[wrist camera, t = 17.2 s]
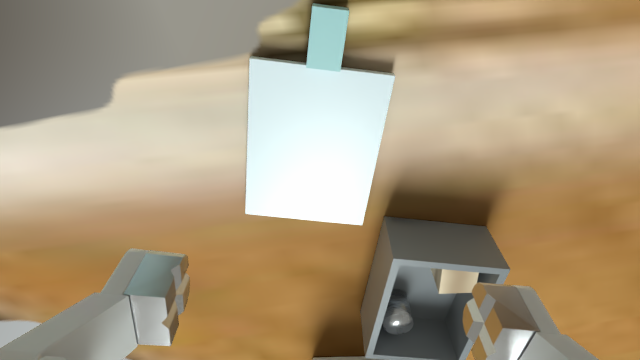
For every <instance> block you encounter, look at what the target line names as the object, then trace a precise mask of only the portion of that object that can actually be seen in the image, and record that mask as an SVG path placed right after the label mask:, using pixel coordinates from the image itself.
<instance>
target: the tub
mask: <svg viewBox="0 0 640 360" xmlns="http://www.w3.org/2000/svg"><path fill="white" fill-rule="evenodd" d="M431 268H435V269H445V270H456V271H467V272H478V273H479V275H478V279H477V283H478V282H480V283H492V284H503V283H504V281H505V279H506V277H507V275H508V273H509V271H510V268H509V266H508V264H507V263H506V261H505V259H504V257H503V256H502V254H501V252H500V250H499V248H498V247H497V245H496V243H495V241H494V240H493V238H492V236H491V234H490V232H489V231H488V229H487V227H486V226H476V225H466V224H456V223H446V222H436V221H426V220H416V219H406V218H396V217H386V216H384V219H383V223H382V227H381V231H380V235H379V239H378V243H377V247H376V251H375V255H374V259H373V263H372V267H371V271H370V275H369V279H368V283H367V287H366V291H365V295H364V299H363V303H362V307H361V311H360V313H361V323H362V333H363V343H364V353H365V358H369V359H382V360H466V358H467V356H468V354H469V352H470V350H471V348H472V346H473V344H474V343H473V342H472V341H471V340H470V339H469V338H468V337H467V336H466V333H465V330H464V327H463V310H464V308H465V305H466V303H467V302H468V301H470V300H471V299H473V298H474V297H473V295H472V293H448V294H439V293H438V290H437V287H436V283H435V280H434V277H433V274H432V271H431ZM392 289H400V290H402V291H404V292H405V293H406V294H407V297H408V301H409V306H410V310H411V314H412V318H413V323H414V324H413V327H412V329H411V330H410V331H408V332H406V333H404V334H398V335H396V334H391V333H388V332H387V331H385V329H384V327H383V319H384V316H385V312H386V309H387V306H388V302H389V299H390V296H391V292H392Z"/></svg>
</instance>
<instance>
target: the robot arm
mask: <svg viewBox="0 0 640 360" xmlns="http://www.w3.org/2000/svg"><path fill="white" fill-rule="evenodd" d="M188 266H189V263H188V256H187V255H185V254H177V253H168V252H160V251H152V250H150V251H148V250H140V249H132V248H131V249H130V250H128V251H127V252H126V253H125V255H124V256H123V258H122V259H121V261H120V263H119V264H118V266H117V267H116V269H115V271H114V272H113V274H112V275H111V277H110V279H109V280H108V282H107V283H106V285H105V286H104V288H103V290H102V291H101V293H93V294H91V295H90V296H88V297H86V298H85V299H83V300H81V301H80V302H78V303H76V304H74V305H73V306H71V307H69V308H68V309H66V310H64V311H63V312H61V313H59V314H57V315H56V316H54V317H52V318H51V319H49V320H47V321H46V322H44V323H42V324H41V325H39V326H37V327H36V328H34V329H32V330H30V331H29V332H27V333H25V334H24V335H22V336H20V337H19V338H17V339H15V340H13V341H12V342H10V343H8V344H7V345H5V346H3V347H2V348H0V360H123V359H124V358H125V357H126V356H127V355H128V354H129V353H130V352H132V351H133V350H134V349H135V348H136V347H137V344H142V345H160V346H171V344H172V341H173V339H174V336H175V334H176V331H177V328H178V326H179V321H178V315H179V314H181V313H182V312H183V311H184V310H185V307H186V304H187V300H188V296H189V289H190V277H189V276H188V275H187V274H186V271H187V268H188ZM472 295H473V297H474V298H473V299H471V300H470V301H468V302H467V303H466V305H465V308H464V310H463V327H464V330H465V333H466V336H467V337H468V338H469V339H470V340H471V341H472V342H473V343H474V345H473V347H472V350H471V351H472V353H473V356H474V359H475V360H599V359H597V358H596V357H595V356H593V355H592V354H591V353H589V352H588V351H587V350H585V349H584V348H583V347H582V346H580V345H579V344H578V343H576V342H575V341H574V340H572V339H571V338H570V337H568V336H567V335H563V334H560V332H559V330H558V329H557V327H556V325H555V324H554V322H553V320H552V318H551V317H550V315H549V313H548V312H547V310H546V308H545V307H544V305H543V303H542V302H541V300H540V298H539V297H538V295H537V293H536V292H535V290H534V289H533V288H531V287H529V286H516V285H512V286H511V285H503V284H492V283H480V282H478V283H477V284H476V285H474V287H473V289H472Z"/></svg>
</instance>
